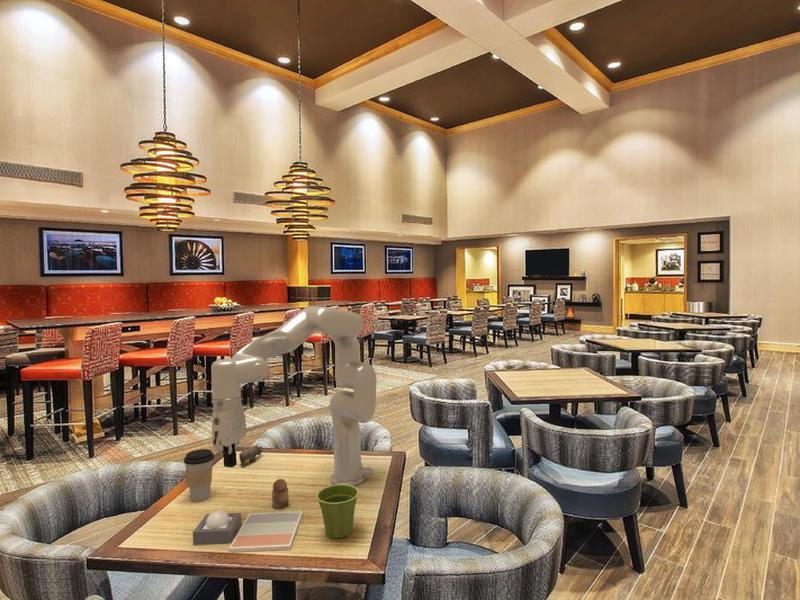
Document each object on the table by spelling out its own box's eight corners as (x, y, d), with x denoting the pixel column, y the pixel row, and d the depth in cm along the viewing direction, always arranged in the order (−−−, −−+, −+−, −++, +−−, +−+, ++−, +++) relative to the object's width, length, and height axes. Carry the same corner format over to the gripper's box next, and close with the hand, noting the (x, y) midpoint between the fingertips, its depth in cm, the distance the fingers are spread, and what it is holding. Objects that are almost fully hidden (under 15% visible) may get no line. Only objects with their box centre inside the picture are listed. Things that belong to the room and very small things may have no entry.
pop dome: (233, 527, 136) (232, 505, 136) (226, 539, 130) (225, 516, 130) (210, 528, 136) (210, 506, 136) (202, 540, 130) (201, 517, 129)
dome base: (241, 524, 138) (241, 512, 138) (230, 543, 128) (230, 530, 128) (206, 526, 138) (206, 514, 138) (193, 544, 128) (192, 532, 128)
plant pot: (321, 522, 138) (320, 484, 138) (362, 521, 138) (361, 483, 137) (313, 544, 126) (311, 503, 126) (357, 544, 126) (356, 502, 126)
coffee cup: (186, 507, 150) (184, 460, 149) (184, 495, 158) (182, 451, 158) (217, 500, 154) (215, 454, 154) (214, 489, 163) (212, 446, 162)
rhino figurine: (267, 456, 194) (266, 441, 194) (245, 468, 181) (244, 453, 181) (259, 454, 195) (258, 440, 195) (236, 467, 183) (235, 452, 182)
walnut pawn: (290, 501, 152) (289, 476, 152) (287, 509, 147) (286, 482, 147) (274, 502, 152) (273, 476, 151) (270, 509, 147) (269, 483, 146)
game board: (302, 514, 143) (302, 510, 143) (290, 549, 124) (290, 545, 124) (249, 516, 143) (249, 513, 143) (228, 552, 124) (228, 548, 124)
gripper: (221, 410, 127) (224, 477, 127) (254, 397, 141) (256, 457, 142) (198, 409, 129) (201, 475, 130) (232, 396, 143) (235, 455, 144)
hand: (230, 465), depth 136 cm, fingers closed
